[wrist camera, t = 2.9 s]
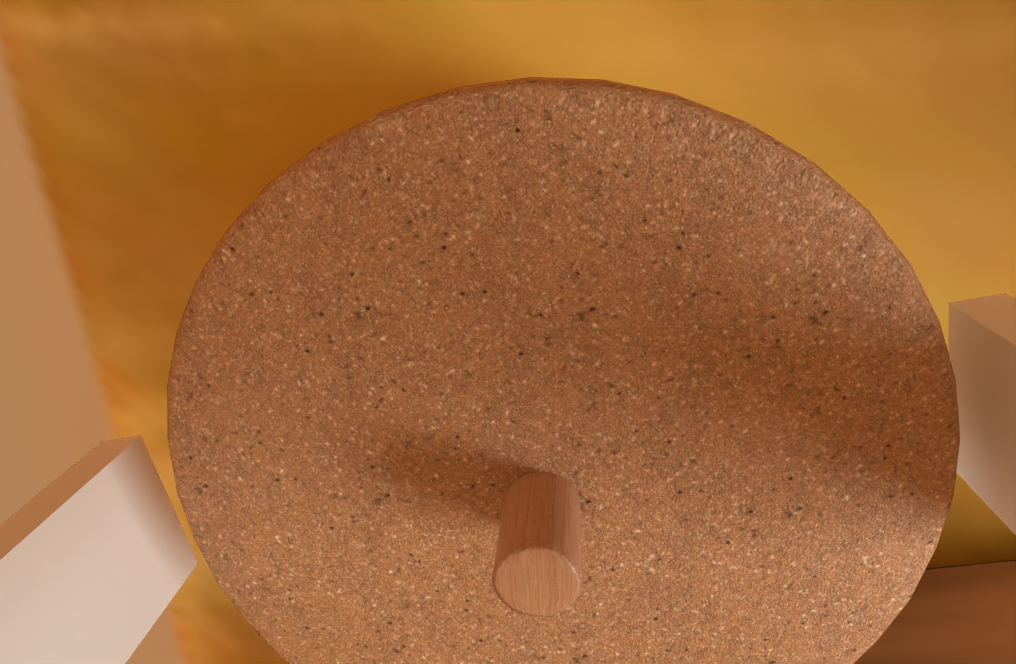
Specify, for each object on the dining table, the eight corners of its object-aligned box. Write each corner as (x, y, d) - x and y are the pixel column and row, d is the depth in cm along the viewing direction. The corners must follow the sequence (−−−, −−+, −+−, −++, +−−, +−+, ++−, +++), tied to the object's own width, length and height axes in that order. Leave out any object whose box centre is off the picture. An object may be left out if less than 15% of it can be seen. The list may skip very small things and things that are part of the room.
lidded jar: (365, 492, 19) (192, 857, 11) (303, 76, 15) (-54, 116, 7) (770, 496, 18) (947, 907, 9) (817, 49, 14) (1197, 54, 6)
